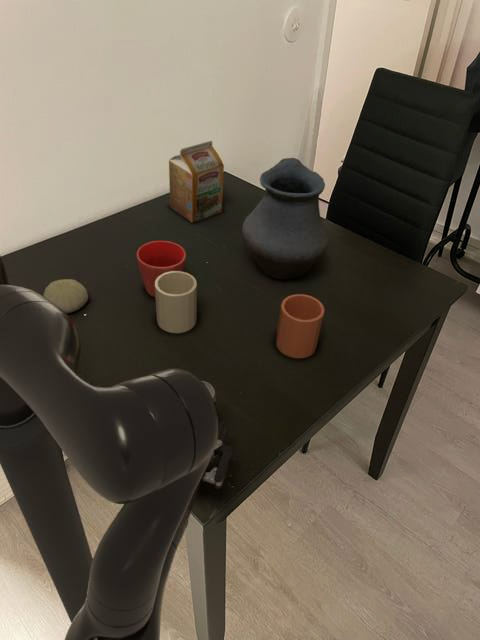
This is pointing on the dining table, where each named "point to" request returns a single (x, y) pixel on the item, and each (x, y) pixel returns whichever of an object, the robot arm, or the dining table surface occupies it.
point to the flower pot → (159, 261)
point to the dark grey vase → (287, 221)
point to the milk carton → (196, 182)
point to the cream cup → (176, 301)
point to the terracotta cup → (299, 325)
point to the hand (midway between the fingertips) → (196, 418)
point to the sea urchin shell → (66, 294)
